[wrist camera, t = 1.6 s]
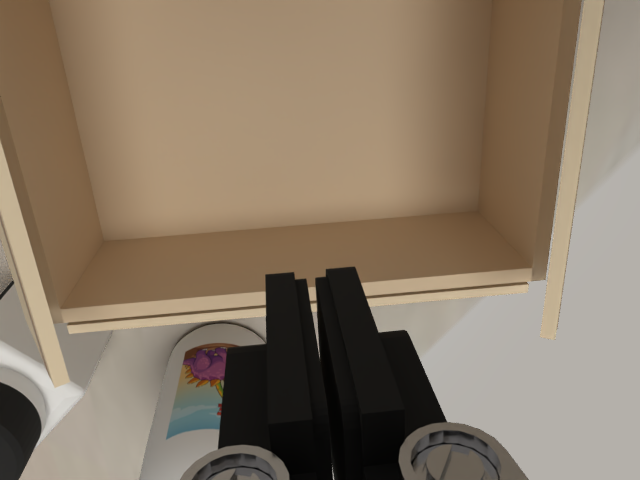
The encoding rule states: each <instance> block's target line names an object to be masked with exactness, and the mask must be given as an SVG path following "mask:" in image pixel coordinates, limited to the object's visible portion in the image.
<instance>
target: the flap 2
mask: <svg viewBox="0 0 640 480" xmlns="http://www.w3.org/2000/svg"><path fill="white" fill-rule="evenodd" d="M604 2H605V0H584V5H583V13H582V21H581V28H580V36H579V44H578V51H577V59H576V66H575V74H574V82H573V89H572V97H571V105H570V112H569V120H568V128H567V135H566V143H565V150H564V158H563V166H562V173H561V181H560V189H559V196H558V204H557V212H556V219H555V227H554V235H553V242H552V250H551V258H550V265H549V273H548V280H547V288H546V296H545V304H544V311H543V319H542V326H541V334H540V337H542V338H547V339H552V340H555V337H556V330H557V327H558V320H559V313H560V306H561V299H562V292H563V285H564V278H565V272H566V265H567V257H568V251H569V244H570V237H571V230H572V223H573V216H574V209H575V203H576V196H577V189H578V182H579V175H580V168H581V161H582V154H583V147H584V140H585V133H586V127H587V120H588V113H589V106H590V99H591V92H592V85H593V78H594V71H595V64H596V58H597V51H598V44H599V37H600V30H601V23H602V16H603V9H604Z"/></svg>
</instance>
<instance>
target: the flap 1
mask: <svg viewBox="0 0 640 480" xmlns="http://www.w3.org/2000/svg"><path fill="white" fill-rule="evenodd" d="M0 239H1V242H2V245H3V248H4V252H5V255H6V258H7V261H8V264H9V268H10V271H11V274H12V277H13V280H14V284H15V287H16V290H17V293H18V296H19V300H20V303H21V306H22V309H23V313H24V316H25V319H26V322H27V324H28V326H29V329H30V331H31V334H32V336H33V338H34V341H35V343H36V345H37V348H38V350H39V352H40V355H41V357H42V359H43V362H44V365H45V368H46V370H47V372H48V375H49V377H50V378H51V381H52V383H53V385H54V388H56V387H59V386H61V385H64V384H66V383H69V382H70V380H69V376H68V373H67V369H66V366H65V362H64V359H63V355H62V352H61V349H60V345H59V342H58V338H57V335H56V331H55V328H54V324H53V321H52V317H51V314H50V310H49V307H48V303H47V300H46V297H45V293H44V290H43V286H42V283H41V279H40V276H39V272H38V269H37V265H36V262H35V258H34V255H33V252H32V248H31V245H30V241H29V238H28V234H27V231H26V227H25V224H24V220H23V217H22V213H21V210H20V207H19V203H18V200H17V196H16V193H15V189H14V186H13V182H12V179H11V175H10V172H9V168H8V165H7V162H6V158H5V155H4V151H3V148H2V144H1V141H0Z"/></svg>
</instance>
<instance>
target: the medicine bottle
mask: <svg viewBox="0 0 640 480" xmlns="http://www.w3.org/2000/svg"><path fill="white" fill-rule="evenodd" d="M68 323H69V322H68ZM68 323H57V324H54V328H55V331H56V335H57V338H58V342H59V345H60V349H61V352H62V355H63V359H64V362H65V366H66V369H67V373H68V376H69V380H70V382H69V383H66V384H64V385H61V386H59V387H56V388H54V385H53V383H52V381H51V378H50V377H49V375H48V372H47V370H46V368H45V365H44V362H43V359H42V357H41V355H40V352H39V350H38V348H37V345H36V343H35V341H34V338H33V336H32V334H31V331H30V329H29V326H28V324H27V322H26V319H25V316H24V313H23V309H22V306H21V303H20V300H19V296H18V293H17V290H16V287H15V284H14V280H13V281H12V282H11V283H10V285H9V286H8V287H7V288H6V289H5V290H4V291H3V293H2V294H1V295H0V480H18V479H19V478H20V476H21V474H22V472H23V470H24V468H25V466H26V464H27V462H28V460H29V458H30V456H31V454H32V452H33V450H34V449H35V448H36V447H37V446H38V445H39V444H40V443H41V442H42V441H43V439H44V438H45V437H46V436H47V435H48V434H49V433H50V432H51V431H52V430H53V428H54V427H55V426H56V425H57V424H58V423H59V422H60V421H61V420H62V419H63V418H64V416H65V415H66V414H67V413H68V412H69V411H70V410H71V409H72V408H73V407H74V406H75V404H76V403H77V402H78V401H79V400H80V399H81V398H82V397H83V396H84V394H85V392H86V390H87V388H88V385H89V383H90V381H91V379H92V377H93V374H94V372H95V370H96V368H97V365H98V363H99V361H100V359H101V356H102V354H103V352H104V350H105V347H106V345H107V343H108V341H109V338H110V336H111V334H112V330H107V331H96V332H85V333H74V334H69V332H68V328H67V324H68Z"/></svg>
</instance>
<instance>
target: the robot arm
mask: <svg viewBox="0 0 640 480" xmlns="http://www.w3.org/2000/svg"><path fill="white" fill-rule="evenodd" d="M315 286H316V302H317V318H318V334H319V351H320V358H319V352H318V346H317V340H316V334H315V328H314V322H313V316H312V310H311V304H310V297H309V291H308V285H307V279H306V278H305V279H295V274H294V272H287V273H276V274H265V289H266V340H267V344H258V345H248V346H238V347H228V349H227V353H226V364H225V375H224V386H223V396H222V407H221V418H220V429H219V440H218V450H215V451H212V452H210V453H208V454H206V455H205V456H203V457H201V458H200V459H198V460H197V461H195V462H194V463H193V464H192V465H191V466H190V467H189V468H188V469H187V470H186V471H185V472H184V473H183V475H182V477H181V479H180V480H333V474H332V467H333V473H334V480H528V478H527V477H526V476H525V474H524V473H523V471H522V470H521V469H520V467H519V466H518V465H517V463H516V462H515V461H514V459H513V458H512V457H511V455H510V454H509V453H508V451H507V450H506V449H505V448H504V447H503V446H502V445H501V444H500V443H499V442H498V441H497V440H496V439H495V438H494V437H492V436H490V435H489V434H487V433H485V432H484V431H482V430H480V429H477V428H474V427H471V426H468V425H465V424H459V423H451V422H447V421H446V419H445V416H444V414H443V412H442V410H441V408H440V405H439V403H438V400H437V398H436V396H435V393H434V391H433V389H432V387H431V384H430V382H429V380H428V377H427V375H426V373H425V371H424V368H423V366H422V364H421V361H420V359H419V357H418V355H417V352H416V350H415V348H414V345H413V343H412V341H411V339H410V336H409V334H408V333H407V331H405V330H400V331H389V332H379V333H378V330H377V327H376V324H375V321H374V319H373V316H372V313H371V310H370V307H369V304H368V301H367V299H366V296H365V293H364V290H363V287H362V284H361V281H360V279H359V276H358V273H357V270H356V268H355V266H354V267H343V268H332V269H326V277H316V278H315Z"/></svg>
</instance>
